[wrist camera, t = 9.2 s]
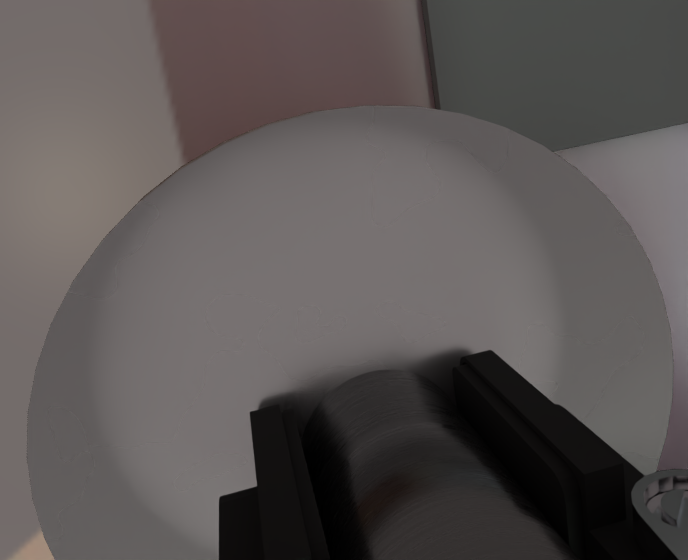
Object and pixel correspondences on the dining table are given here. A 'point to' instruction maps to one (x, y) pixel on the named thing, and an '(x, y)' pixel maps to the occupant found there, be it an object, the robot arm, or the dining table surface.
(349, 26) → the dining table surface
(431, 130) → the lid
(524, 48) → the mat
